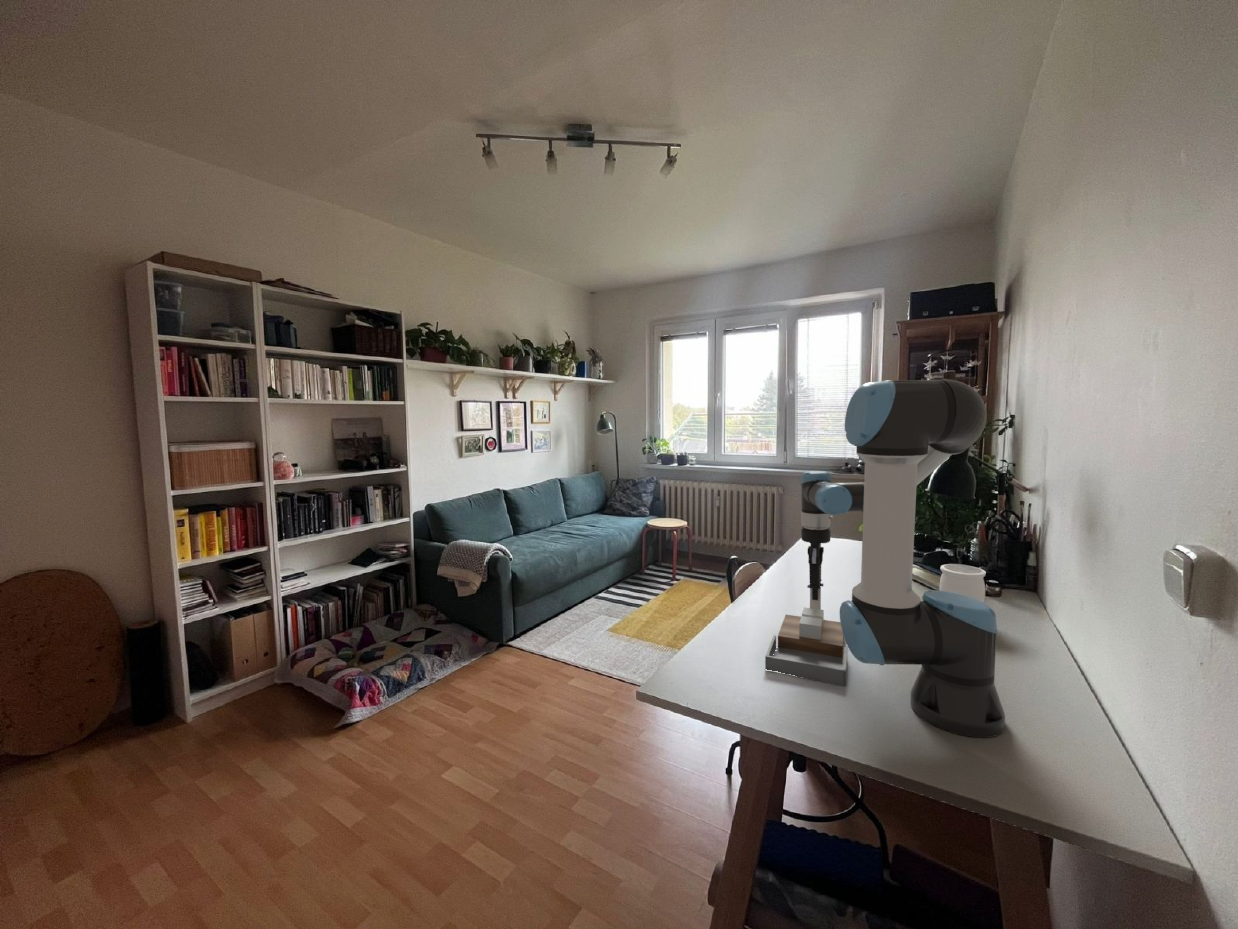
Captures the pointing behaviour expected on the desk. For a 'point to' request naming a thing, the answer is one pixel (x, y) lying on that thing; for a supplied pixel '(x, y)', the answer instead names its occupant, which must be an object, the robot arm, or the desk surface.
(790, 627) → the board
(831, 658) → the tray
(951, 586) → the jar
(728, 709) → the desk surface
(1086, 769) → the desk surface
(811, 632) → the light grey block
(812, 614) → the tile
